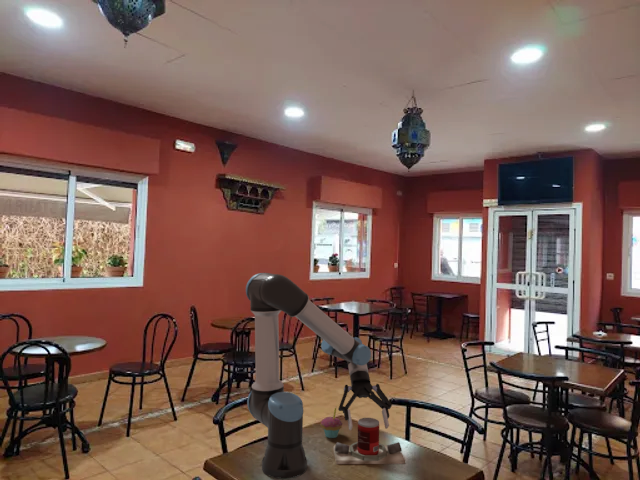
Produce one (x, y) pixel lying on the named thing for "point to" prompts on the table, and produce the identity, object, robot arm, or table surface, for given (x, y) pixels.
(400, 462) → the plate
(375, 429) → the canned food
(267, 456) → the robot arm
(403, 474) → the table surface
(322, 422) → the cupcake
